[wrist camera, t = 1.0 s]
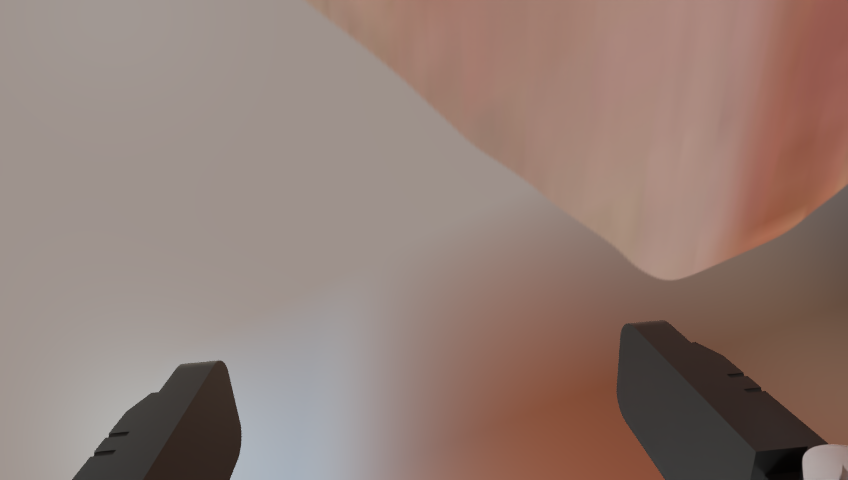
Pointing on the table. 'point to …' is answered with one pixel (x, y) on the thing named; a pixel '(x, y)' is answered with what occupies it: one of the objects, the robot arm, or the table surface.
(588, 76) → the table surface
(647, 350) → the robot arm
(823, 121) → the table surface
